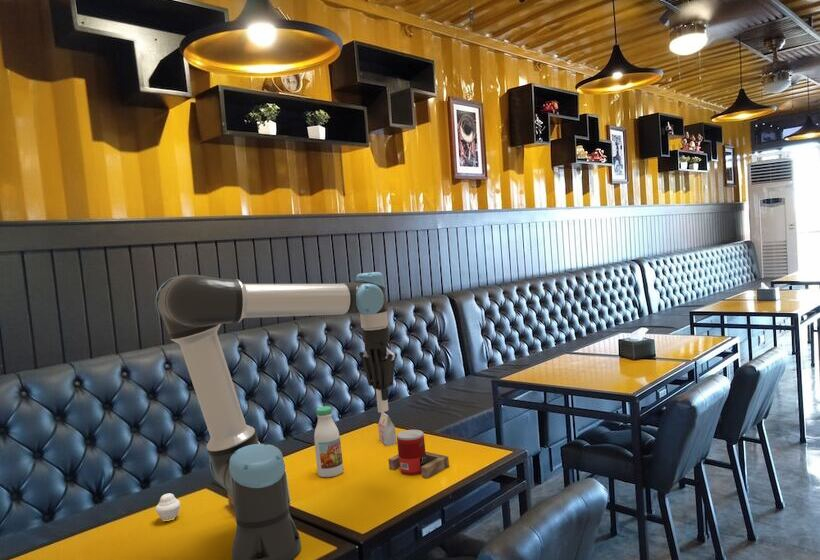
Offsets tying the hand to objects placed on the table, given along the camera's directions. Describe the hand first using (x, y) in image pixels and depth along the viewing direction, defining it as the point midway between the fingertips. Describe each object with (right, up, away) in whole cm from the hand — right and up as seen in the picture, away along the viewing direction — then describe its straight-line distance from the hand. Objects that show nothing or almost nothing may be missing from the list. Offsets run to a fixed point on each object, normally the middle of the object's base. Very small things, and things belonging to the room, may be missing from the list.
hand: (383, 411), depth 165 cm
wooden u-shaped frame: (+10, -19, +10) cm, 24 cm away
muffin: (-56, -27, -9) cm, 63 cm away
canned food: (+9, -19, +8) cm, 23 cm away
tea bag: (0, -19, +35) cm, 40 cm away
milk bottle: (-16, -22, +13) cm, 30 cm away
